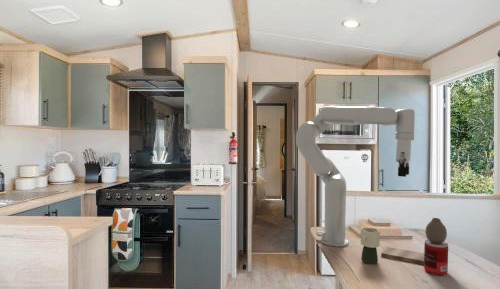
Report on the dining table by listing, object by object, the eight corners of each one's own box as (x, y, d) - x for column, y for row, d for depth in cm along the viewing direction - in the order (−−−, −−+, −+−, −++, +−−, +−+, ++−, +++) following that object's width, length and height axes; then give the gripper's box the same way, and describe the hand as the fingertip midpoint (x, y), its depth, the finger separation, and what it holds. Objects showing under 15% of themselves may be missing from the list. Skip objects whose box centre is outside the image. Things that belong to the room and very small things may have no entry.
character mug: (367, 256, 137) (368, 225, 136) (384, 261, 131) (385, 229, 131) (354, 262, 129) (354, 230, 129) (371, 268, 124) (372, 234, 124)
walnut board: (381, 256, 136) (381, 253, 136) (385, 249, 145) (385, 246, 145) (424, 264, 128) (424, 261, 128) (426, 257, 136) (426, 253, 136)
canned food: (447, 270, 123) (448, 241, 123) (447, 277, 116) (448, 247, 116) (424, 265, 127) (425, 237, 127) (423, 272, 120) (423, 243, 120)
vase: (449, 245, 117) (450, 221, 117) (428, 244, 119) (429, 220, 119) (442, 239, 124) (442, 216, 124) (422, 238, 126) (423, 215, 125)
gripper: (398, 137, 154) (397, 173, 154) (392, 136, 139) (391, 176, 140) (416, 137, 150) (415, 174, 150) (411, 136, 135) (410, 177, 136)
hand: (403, 175), depth 145 cm, fingers open, 9 cm apart
